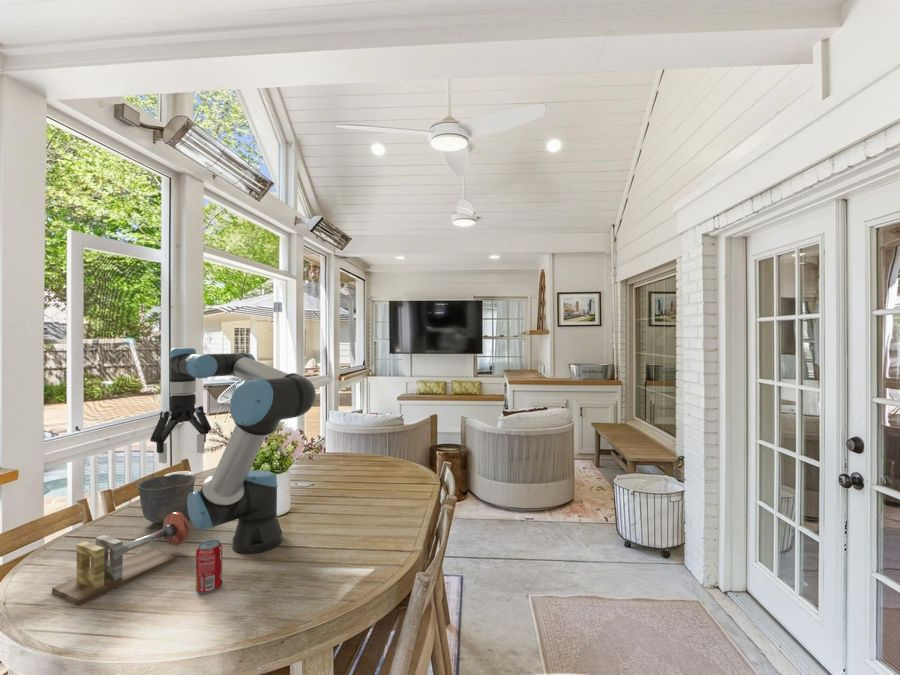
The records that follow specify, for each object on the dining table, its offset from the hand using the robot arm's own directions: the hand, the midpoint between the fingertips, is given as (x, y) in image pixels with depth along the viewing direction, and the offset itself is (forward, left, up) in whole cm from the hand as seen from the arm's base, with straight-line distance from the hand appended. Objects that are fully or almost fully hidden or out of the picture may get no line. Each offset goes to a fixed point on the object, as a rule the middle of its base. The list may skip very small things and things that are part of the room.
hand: (182, 457), depth 149 cm
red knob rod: (-6, +14, -25) cm, 29 cm away
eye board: (-6, +22, -27) cm, 36 cm away
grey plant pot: (+19, -7, -28) cm, 34 cm away
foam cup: (+29, -18, -28) cm, 44 cm away
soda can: (-35, +16, -28) cm, 47 cm away
